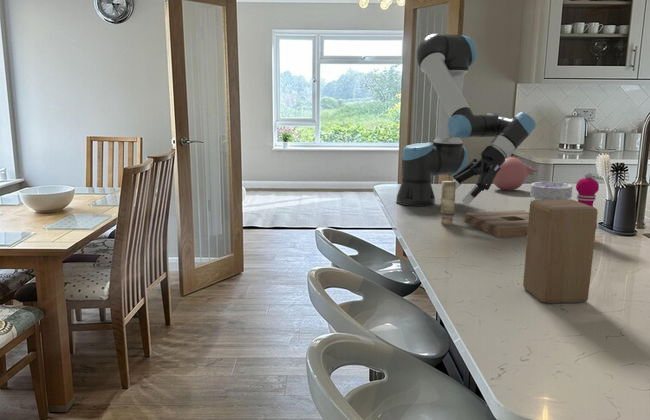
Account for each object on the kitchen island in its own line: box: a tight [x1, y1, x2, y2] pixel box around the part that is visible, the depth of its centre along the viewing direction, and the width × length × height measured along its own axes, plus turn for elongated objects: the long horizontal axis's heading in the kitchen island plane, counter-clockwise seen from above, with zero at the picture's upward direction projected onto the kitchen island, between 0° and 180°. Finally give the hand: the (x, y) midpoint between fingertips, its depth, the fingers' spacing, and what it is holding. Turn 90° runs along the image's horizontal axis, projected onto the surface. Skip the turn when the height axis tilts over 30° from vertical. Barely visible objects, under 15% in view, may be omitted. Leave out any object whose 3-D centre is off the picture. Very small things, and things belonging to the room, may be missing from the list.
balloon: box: [492, 156, 538, 192], centre depth 243 cm, size 15×20×15 cm
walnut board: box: [464, 209, 529, 239], centre depth 174 cm, size 22×22×3 cm
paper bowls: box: [529, 181, 573, 200], centre depth 214 cm, size 15×15×8 cm
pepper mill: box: [575, 172, 600, 229], centre depth 158 cm, size 7×7×20 cm
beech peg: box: [439, 180, 456, 226], centre depth 178 cm, size 4×4×14 cm
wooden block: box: [522, 198, 599, 304], centre depth 112 cm, size 10×10×20 cm
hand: (453, 199), depth 177 cm, fingers open, 13 cm apart
